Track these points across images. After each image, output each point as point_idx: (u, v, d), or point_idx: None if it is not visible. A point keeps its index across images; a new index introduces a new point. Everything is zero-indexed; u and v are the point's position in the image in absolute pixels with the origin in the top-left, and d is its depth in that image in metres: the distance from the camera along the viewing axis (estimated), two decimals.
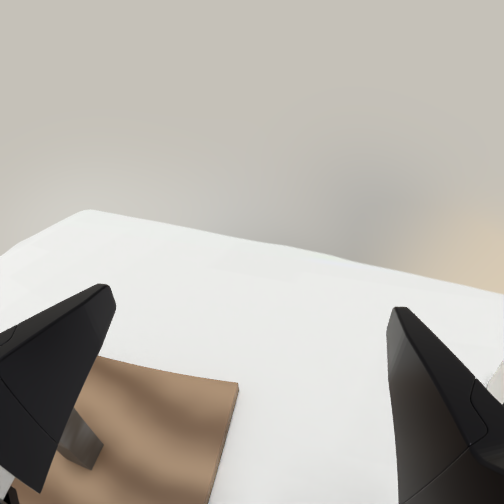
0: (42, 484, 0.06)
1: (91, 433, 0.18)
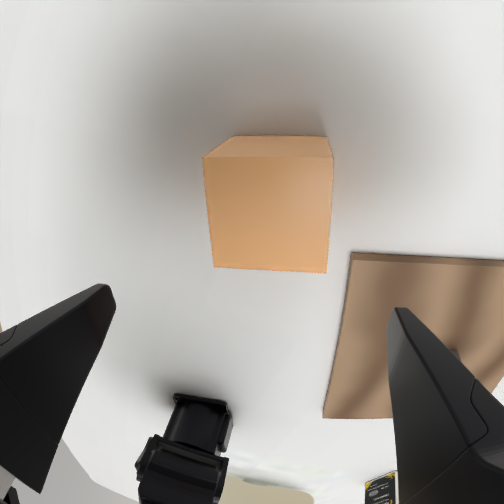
0: (42, 484, 0.06)
1: None
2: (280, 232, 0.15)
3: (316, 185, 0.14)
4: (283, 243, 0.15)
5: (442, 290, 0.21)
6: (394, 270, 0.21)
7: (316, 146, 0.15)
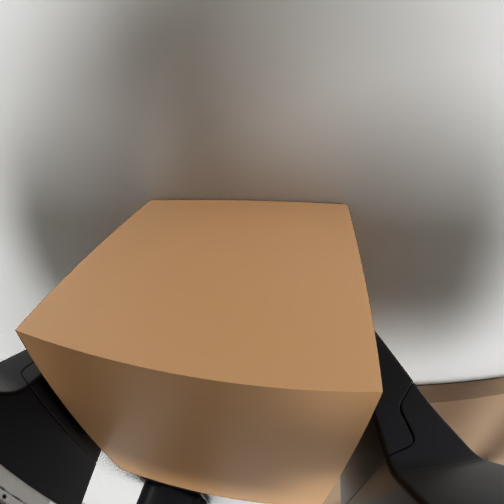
0: None
1: None
2: (224, 475, 0.06)
3: (314, 437, 0.04)
4: (234, 483, 0.06)
5: (491, 418, 0.11)
6: None
7: (326, 270, 0.06)
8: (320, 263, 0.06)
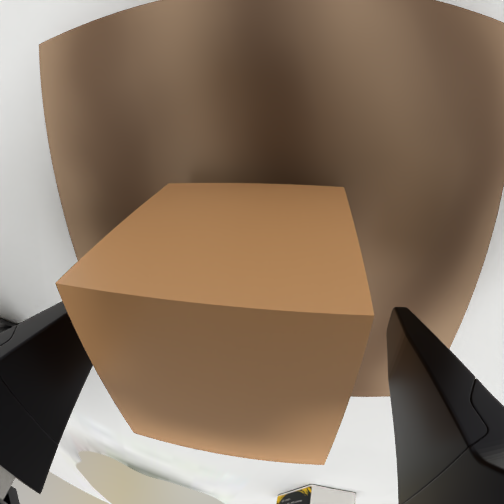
0: (42, 484, 0.06)
1: None
2: (237, 423, 0.07)
3: (319, 368, 0.05)
4: (245, 435, 0.07)
5: (183, 48, 0.10)
6: (87, 37, 0.09)
7: (326, 234, 0.07)
8: (321, 228, 0.07)
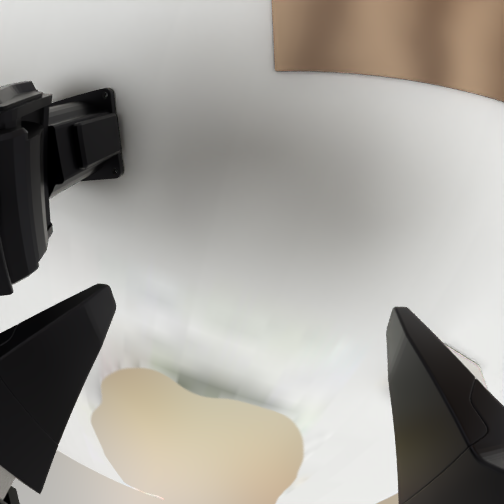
0: (42, 484, 0.06)
1: None
2: None
3: None
4: None
5: None
6: None
7: None
8: None
